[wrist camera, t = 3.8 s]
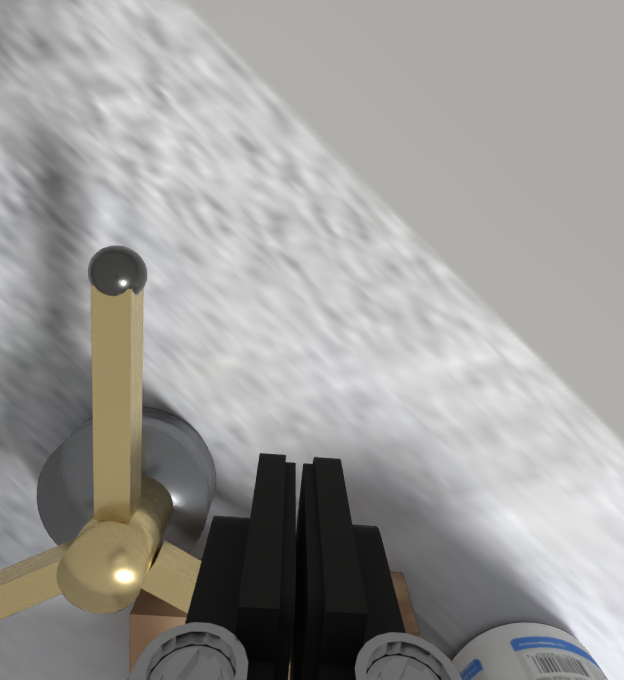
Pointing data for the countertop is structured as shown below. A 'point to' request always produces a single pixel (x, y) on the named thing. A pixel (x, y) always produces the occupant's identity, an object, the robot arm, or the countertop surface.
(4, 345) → the countertop surface
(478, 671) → the supplement tub
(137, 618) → the level stand
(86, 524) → the tan branched rod piece
